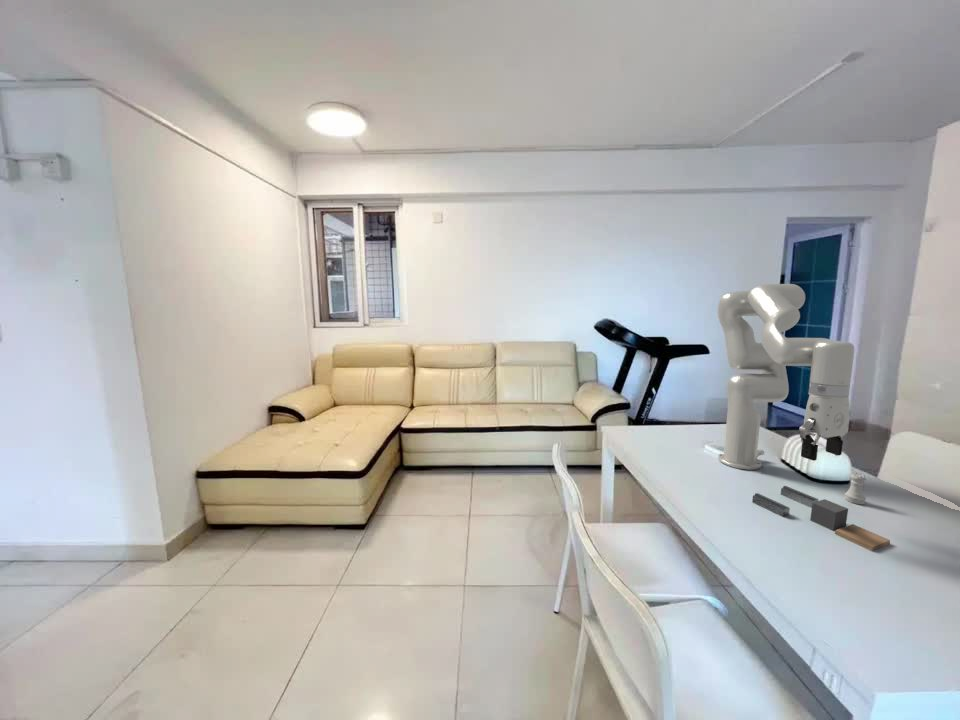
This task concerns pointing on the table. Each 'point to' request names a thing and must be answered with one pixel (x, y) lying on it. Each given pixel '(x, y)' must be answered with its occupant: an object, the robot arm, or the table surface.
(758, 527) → the table surface
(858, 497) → the rook chess piece
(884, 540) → the pad
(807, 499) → the metal bars
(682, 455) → the table surface
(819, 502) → the dark gray cube
